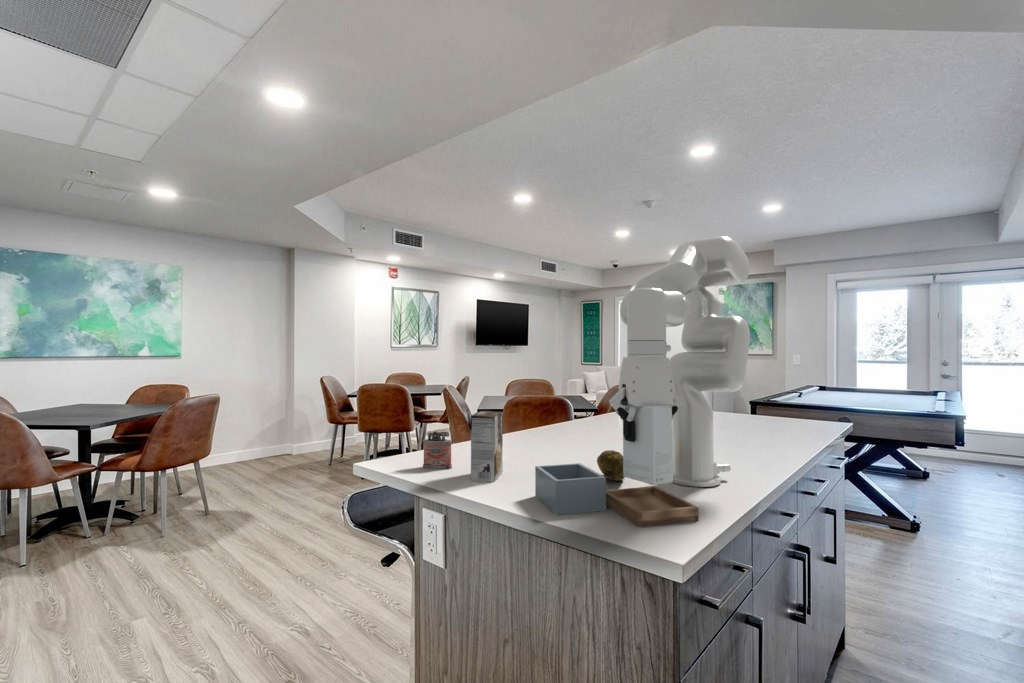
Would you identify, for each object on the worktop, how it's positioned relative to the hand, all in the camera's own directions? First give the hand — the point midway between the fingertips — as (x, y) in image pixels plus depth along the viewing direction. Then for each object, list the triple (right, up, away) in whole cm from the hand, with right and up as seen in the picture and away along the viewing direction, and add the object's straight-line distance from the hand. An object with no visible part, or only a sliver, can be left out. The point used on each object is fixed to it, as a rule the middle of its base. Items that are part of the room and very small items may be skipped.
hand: (646, 439), depth 94 cm
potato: (-2, -15, +22) cm, 27 cm away
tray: (0, -14, 0) cm, 14 cm away
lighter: (-47, -15, +35) cm, 61 cm away
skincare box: (0, -8, -1) cm, 8 cm away
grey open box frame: (-15, -14, +5) cm, 21 cm away
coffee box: (-33, -15, +26) cm, 45 cm away
